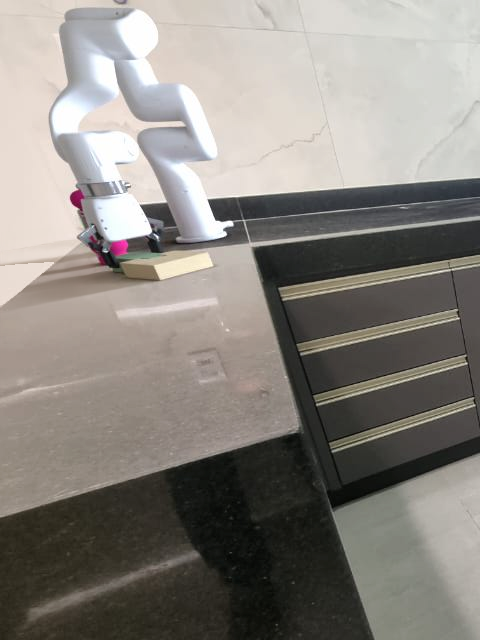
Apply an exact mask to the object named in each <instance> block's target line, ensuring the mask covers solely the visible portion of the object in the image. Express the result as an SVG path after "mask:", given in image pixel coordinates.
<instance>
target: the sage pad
mask: <svg viewBox="0 0 480 640" xmlns="http://www.w3.org/2000/svg"><path fill="white" fill-rule="evenodd" d="M158 254H161V253H152V252H148V251H147V252H145V251H132V252H128V253H127V254H122V255H117V256H115V257H116V259H117V261H118V263H119V265H120V268H111V269H112V271H113V272H115V273H124V271H123V268H122V266H121V264H120V263H122V262H126V261H130V260H135V259H153V258H158V257H162V256H163V255H158Z"/></svg>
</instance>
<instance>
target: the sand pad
mask: <svg viewBox="0 0 480 640" xmlns="http://www.w3.org/2000/svg"><path fill="white" fill-rule="evenodd" d="M158 255H163V256H162V257H158V258H153V259H135V260H130V261H126V262H122V263H120V264H121V266H122V268H123V271H124V272H123V273H124V275H125V277H126V278H128V279H129V278H130V279H131V278H132V279H141V280H142V279H143V280H153V281H164V280H167V279H171V278H174V277H179V276H182V275H186V274H189V273H192V272H197V271H200V270H204V269H208V268H212V267H214V264H213V261H212V259H211V257H210V255H209V252H207V251H193V250H192V251H191V250H178V249H174V250H170V251H165V252H164V253H161V254H158Z"/></svg>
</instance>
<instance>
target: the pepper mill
mask: <svg viewBox="0 0 480 640" xmlns="http://www.w3.org/2000/svg"><path fill="white" fill-rule="evenodd" d="M74 186H75V188H76V190H74V191H72V192H71V193H70V194H69V201H70V203H71V205H72V206H73V207H75V208H77V209H78V213H79V215H80V217H82V218H83V219H84V220H85V222H86V224H87V221H86V218H85V215H84V212H83V208H82V204H81V199H85V196H84V195H83V193H82V191H81V189H80V187H79V185H78V182H77V183H75V185H74ZM88 227H89V226H88V224H87V228H88ZM90 239H91V240H92V241H93V242H95V243H98V241H96V240H95V239H94V237H93V236H90ZM128 247H129V243H128V242H127V240H122V241H117V242H112V245H111V247H110V249H109V250H110V251H112V252H113V253H114V255H115V256H117V255H122V254H127V253H129V252H127V249H128ZM89 249H90V250H91V251H92V252H93V253H95V254H97V255H99V257H97V259H98V261H99V263H100V265H102V266H103V265H104V266H107V265H106V264H105V262H104V260H103V258H102V256H101V254H100V252H97V251H96V250H94V249H92V248H89Z"/></svg>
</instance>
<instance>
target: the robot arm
mask: <svg viewBox="0 0 480 640" xmlns="http://www.w3.org/2000/svg"><path fill="white" fill-rule="evenodd" d="M63 18H64V22H62V23H61V24H60V25H59V28H58V35H59V41H60V45H61V46H60V47H61V52H62V57H63V58H62V59H63V62H64V69H65V74H66V80H67V83H66V84H67V85H66V86H65V87H64V88H63V90H61V92H60V93H59V94H58V95H57V97H56V98H55V100H54V101H53V103H52V105H51V107H50V109H49V112H48V117H47V118H48V126H49V131H50V137H51V141H52V144H53V147H54V149H55V152H56V153H57V155H58V157H60V159H61V160H63V161H64V162H65V163H67V164H68V166H69V168H70V170H71V172H72V174H73V176H74V178H75V181H76V182H77V183H78V185H79V187H80V189H81V191H82V193H83V195H84V196H85V199H81V204H82V208H83V212H84V215H85V218H86V220H85V222H86V221H87V222H86V224H88V225H87V228H85V229H84V230H82V231H81V232H80V233H79V234H77V235H76V239H77V240H78V241H80V242H81V243H82V244H84V245H85V246H86V248H89V249H90V248H92V249H94V250H96V251H97V252H100V254H101V256H102V258H103V260H104V262H105V264H106V265H105V266H108V268H109V269H112V268H120V265H119V263H118V261H117V259H116V257H115V255H114V253H113V252H112V251H110V250H109V249H110V247H111V245H112V242H117V241H122V240H126V241H127V240H131V239H136V238H142V237H143V238H144V239H146V240H148V241H147V245H148V248H149V251H150V253H165V252H164V250H163V247H162V245H161V243H160V242H161V241H162V239H161V238H162V236H163V234H164V225H165V222H164V221H163V220H159V219H155V218H151V217H147V215H146V214H145V212H144V211H143V209H142V207H141V206H140V204H139V203H138V201H137V199H136V198H135V197H134V196H133V195H132V193H129V191H128V189H131V188H132V185H131V183H130V182H128V181H126V182H125V181H124V180H123V179H122V177H121V174H120V172H119V170H118V168H117V165H128V164H132V163H134V162H135V161H137V159H138V158H139V155H140V151H141V153H142V154H143V155H144V157H145V159H146V160H147V162H148V164H149V166H150V167H151V169H152V171H153V173H154V175H155V177H156V180H157V182H158V184H159V186H160V189H161V192H162V193H163V196H164V199H165V200H166V201H165V202H166V203H167V206H168V208H169V211H170V213H171V215H172V218H173V220H174V223H175V225H176V226H177V229H178V232H179V234H180V236H177V237H176V238H175V241H176V243H179V244H193V243H203V242H207V241H213V240H218V239H222V238H224V237H227V235H228V233H227V231H225V229H227V228H232V227H234V222H233V221H232V220H226V221H220V220H216V219H215V217H214V214H213V211H212V208H211V207H210V204H209V201H208V198H207V195H206V193H205V191H204V188H203V186H202V181H201V180H200V178H199V176H198V175H197V174H196V172H194V171H193V170H192V169H191V168H190V167H188V166H187V165H186V164H185V163H197V162H207V161H212V160H215V159H216V158H217V156H218V148H217V145H216V141H215V138H214V136H213V133H212V131H211V128H210V126H209V123H208V121H207V118H206V116H205V113H204V111H203V107H202V105H201V104H200V101H199V99H198V98H197V96H196V94H195V93H194V92H193V90H192V89H190V88H189V87H188V86H186V85H185V84H182V83H176V82H175V83H174V82H173V83H171V82H170V83H168V82H167V83H160V82H159V81H158V80H157V78H156V76H155V74H154V71H153V69H152V66H151V65H150V63H149V62H148V60H147V59H146V57H147V56H148V55H149V54H150V52H151V51H153V50H154V49H155V47H156V46H157V44H158V42H159V32H158V28H157V25H156V24H155V22H154V21H153V20H152V18H151V17H150V16H149V15H148V14H147V13H146V12H145V11H143V10H141V9H138V8H135V7H90V6H89V7H75V8H70V9H68V10H67V11H65V13H64V17H63ZM120 92H121V95H122V98H123V99H124V101H125V103H126V106H127V107H128V110H129V111H130V113H131V115H132V116H133V117H134V118H135V119H137V120H139V121H141V122H146V123H165V122H167V123H169V122H182V123H183V125H184V126H183V125H182V126H181V125H180V126H157V127H156V126H155V127H148V128H144V129H142V130H140V131H139V132H138V133H137V136H136V141H135V140H134V138H133V137H131V136H130V135H128V134H127V133H125V132H122V131H118V130H82V131H81V130H80V131H78V129H79V125H80V122H81V121H82V120H83V118H84V117H85V116H86V115H88V114H89V113H91V112H93V111H95V110H96V109H99V108H100V107H102V106H105V105H107V104H109V103H110V102H112V101H114V100H116V98H118V96H119V94H120ZM151 225H153V227H154V229H153V231H152V226H151ZM88 226H89V227H88ZM90 236H93V237H94V239H95V240H96V241H98V243H95V242H93V241H92V240H91V239H90Z"/></svg>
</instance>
